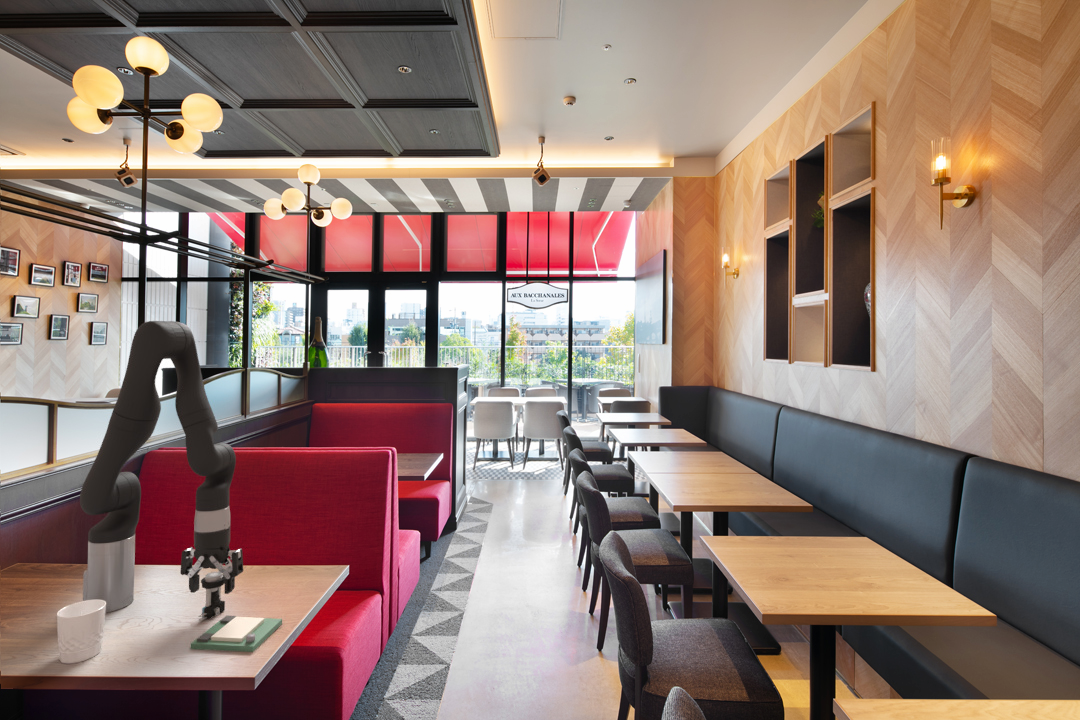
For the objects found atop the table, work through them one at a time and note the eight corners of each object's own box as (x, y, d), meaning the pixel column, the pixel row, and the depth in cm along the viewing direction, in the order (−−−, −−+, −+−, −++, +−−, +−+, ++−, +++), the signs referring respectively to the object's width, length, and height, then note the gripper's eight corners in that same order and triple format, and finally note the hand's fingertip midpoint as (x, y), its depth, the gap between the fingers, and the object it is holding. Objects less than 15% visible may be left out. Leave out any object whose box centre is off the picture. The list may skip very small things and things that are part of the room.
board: (190, 648, 114) (190, 637, 114) (225, 621, 126) (225, 611, 126) (253, 651, 114) (253, 641, 114) (282, 623, 126) (282, 613, 126)
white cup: (75, 644, 115) (77, 599, 115) (114, 644, 115) (115, 599, 115) (45, 666, 107) (46, 617, 107) (86, 665, 107) (87, 617, 107)
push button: (208, 624, 125) (209, 582, 125) (189, 621, 126) (190, 579, 126) (230, 611, 131) (231, 571, 131) (212, 608, 132) (213, 569, 132)
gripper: (173, 530, 125) (172, 598, 125) (231, 531, 124) (230, 599, 124) (195, 520, 132) (194, 584, 132) (250, 522, 132) (249, 586, 132)
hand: (211, 591), depth 128 cm, fingers open, 8 cm apart
